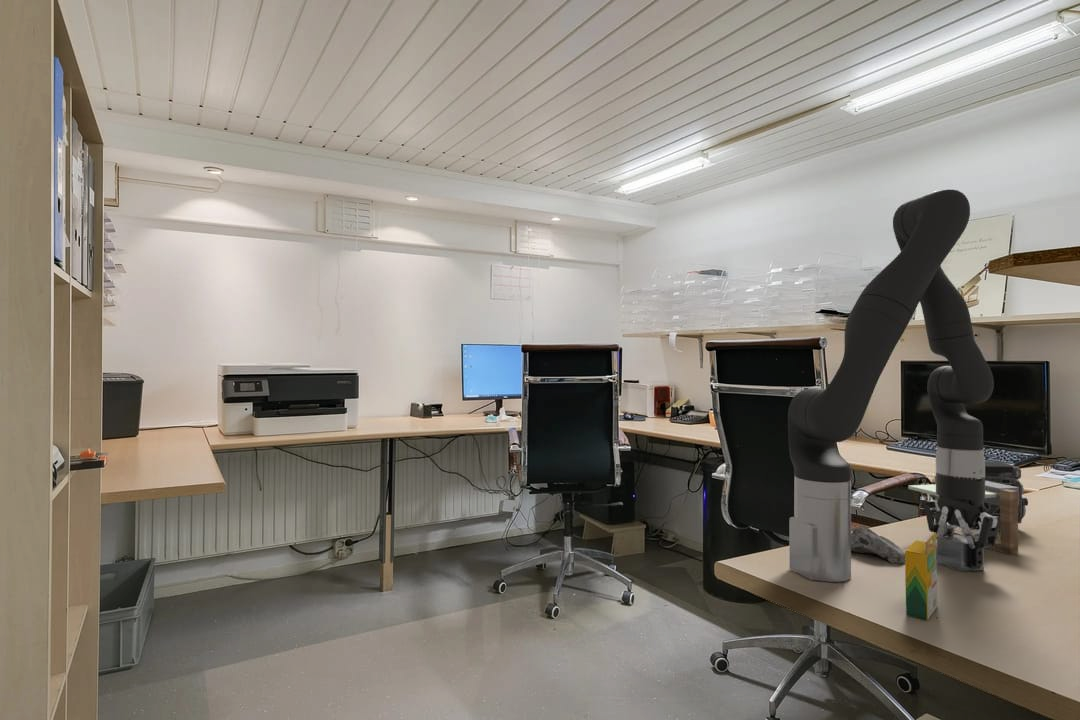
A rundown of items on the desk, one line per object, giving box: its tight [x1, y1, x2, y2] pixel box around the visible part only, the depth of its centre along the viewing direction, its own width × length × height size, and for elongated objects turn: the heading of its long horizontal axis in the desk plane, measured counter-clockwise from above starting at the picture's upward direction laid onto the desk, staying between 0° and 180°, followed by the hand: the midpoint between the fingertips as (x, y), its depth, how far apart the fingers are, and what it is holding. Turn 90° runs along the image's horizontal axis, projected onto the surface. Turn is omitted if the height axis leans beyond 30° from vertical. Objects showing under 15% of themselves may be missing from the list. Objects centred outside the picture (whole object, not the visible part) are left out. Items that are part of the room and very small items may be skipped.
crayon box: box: [904, 532, 938, 621], centre depth 89 cm, size 7×3×12 cm, turn 136°
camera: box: [980, 460, 1029, 531], centre depth 135 cm, size 10×10×15 cm
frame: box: [934, 475, 1019, 555], centre depth 124 cm, size 2×17×12 cm, turn 12°
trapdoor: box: [907, 481, 1019, 506], centre depth 123 cm, size 17×13×4 cm
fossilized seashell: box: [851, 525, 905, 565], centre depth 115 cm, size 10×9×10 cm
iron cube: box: [936, 535, 985, 573], centre depth 108 cm, size 5×5×5 cm
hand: (960, 562), depth 108 cm, fingers closed on iron cube, 5 cm apart
